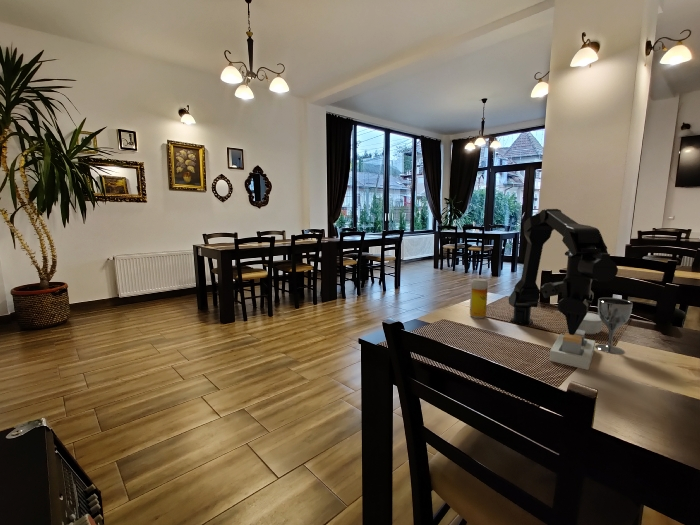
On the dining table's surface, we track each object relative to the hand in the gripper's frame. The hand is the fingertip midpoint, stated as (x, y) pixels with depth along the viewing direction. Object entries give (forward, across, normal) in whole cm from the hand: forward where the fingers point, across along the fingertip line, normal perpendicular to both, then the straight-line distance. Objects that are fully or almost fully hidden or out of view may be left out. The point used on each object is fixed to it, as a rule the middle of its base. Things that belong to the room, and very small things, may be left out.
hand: (573, 329), depth 92 cm
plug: (+8, 0, 0) cm, 8 cm away
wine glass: (+9, -16, +8) cm, 20 cm away
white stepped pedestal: (+9, -4, 0) cm, 10 cm away
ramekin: (+9, -31, 0) cm, 33 cm away
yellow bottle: (+9, -23, -34) cm, 42 cm away
